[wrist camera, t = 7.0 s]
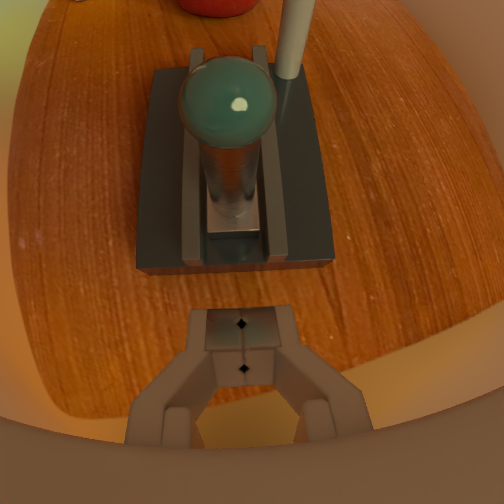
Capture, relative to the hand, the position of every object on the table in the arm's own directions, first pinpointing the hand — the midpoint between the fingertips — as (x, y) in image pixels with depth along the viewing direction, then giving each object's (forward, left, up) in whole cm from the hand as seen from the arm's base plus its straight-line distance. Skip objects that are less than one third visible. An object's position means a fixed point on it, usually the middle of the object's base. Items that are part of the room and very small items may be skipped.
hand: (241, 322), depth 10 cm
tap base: (0, +11, -11) cm, 16 cm away
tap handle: (0, +7, -8) cm, 11 cm away
